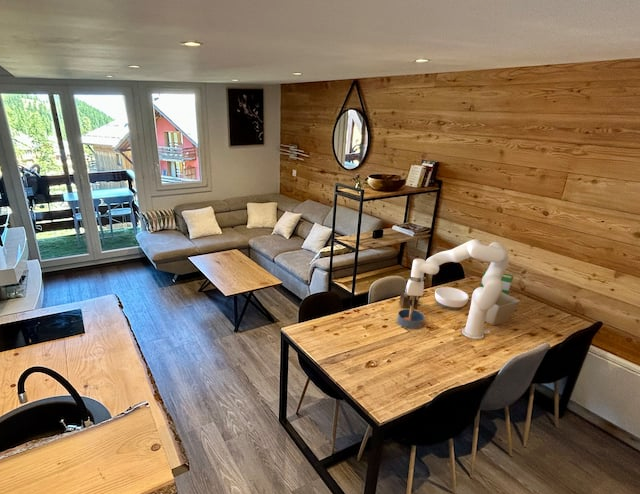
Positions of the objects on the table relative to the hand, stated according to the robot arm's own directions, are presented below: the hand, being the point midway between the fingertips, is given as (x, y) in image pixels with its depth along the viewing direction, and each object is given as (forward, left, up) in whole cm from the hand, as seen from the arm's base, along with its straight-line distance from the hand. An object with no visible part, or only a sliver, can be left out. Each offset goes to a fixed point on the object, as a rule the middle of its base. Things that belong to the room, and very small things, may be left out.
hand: (412, 304), depth 248 cm
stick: (0, 0, -13) cm, 13 cm away
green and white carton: (-66, -35, -15) cm, 76 cm away
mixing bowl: (-1, -1, -14) cm, 14 cm away
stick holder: (-5, -26, -14) cm, 30 cm away
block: (+2, +2, -14) cm, 14 cm away
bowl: (-36, -32, -15) cm, 50 cm away
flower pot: (-57, -12, -15) cm, 60 cm away
